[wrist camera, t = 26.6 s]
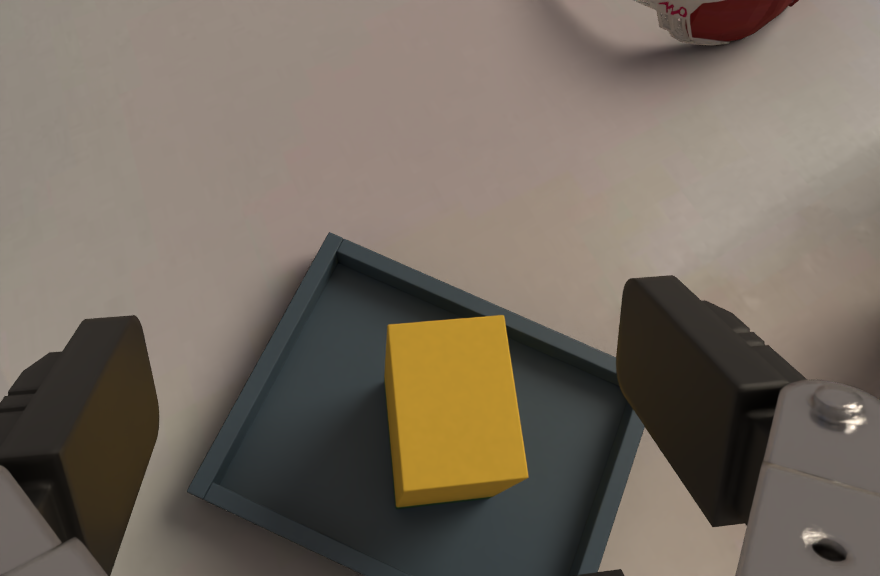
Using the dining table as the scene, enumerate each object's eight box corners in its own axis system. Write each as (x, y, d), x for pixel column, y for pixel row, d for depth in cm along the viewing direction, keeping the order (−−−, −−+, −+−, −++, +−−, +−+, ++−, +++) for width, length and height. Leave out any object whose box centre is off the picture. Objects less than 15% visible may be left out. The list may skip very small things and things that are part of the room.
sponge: (395, 509, 33) (402, 492, 25) (383, 380, 35) (386, 324, 27) (490, 498, 34) (529, 478, 25) (473, 372, 36) (504, 314, 27)
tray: (197, 495, 33) (186, 491, 31) (331, 248, 38) (329, 231, 36) (554, 663, 32) (566, 670, 30) (646, 386, 37) (661, 376, 35)
